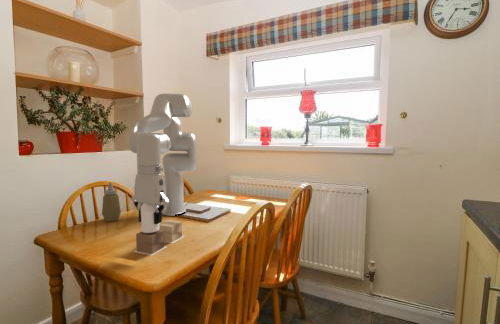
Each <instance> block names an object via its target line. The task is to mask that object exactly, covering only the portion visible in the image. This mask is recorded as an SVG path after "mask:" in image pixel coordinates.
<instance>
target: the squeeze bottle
mask: <svg viewBox="0 0 500 324" xmlns="http://www.w3.org/2000/svg"><path fill="white" fill-rule="evenodd" d="M104 193H105V194H104V195H103V196H102V205H101V206H102V209H101V214H102V217H103V219H104V221H105V222H108V223H109V222H116V221H118V220H119V219H120V216H121V212H122V211H121V202H120V197H119V195H118V194H117V190H116V189H114V186H113V183H112V182H109V183H108V186H107V190H105V191H104Z"/></svg>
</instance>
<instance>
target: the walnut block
mask: <svg viewBox="0 0 500 324" xmlns="http://www.w3.org/2000/svg"><path fill="white" fill-rule="evenodd" d="M135 236H136V237H135V238H136V239H135V240H136V241H135V243H136V250H137V251H139V252H144V253H149V254H153V253H155V252H157V251H158V250H160V249H162V248H163V247H164V246H165V242H164V230H158V231H156V232H152V233H143V232H142V231H139V232H138V233H136V234H135Z"/></svg>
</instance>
